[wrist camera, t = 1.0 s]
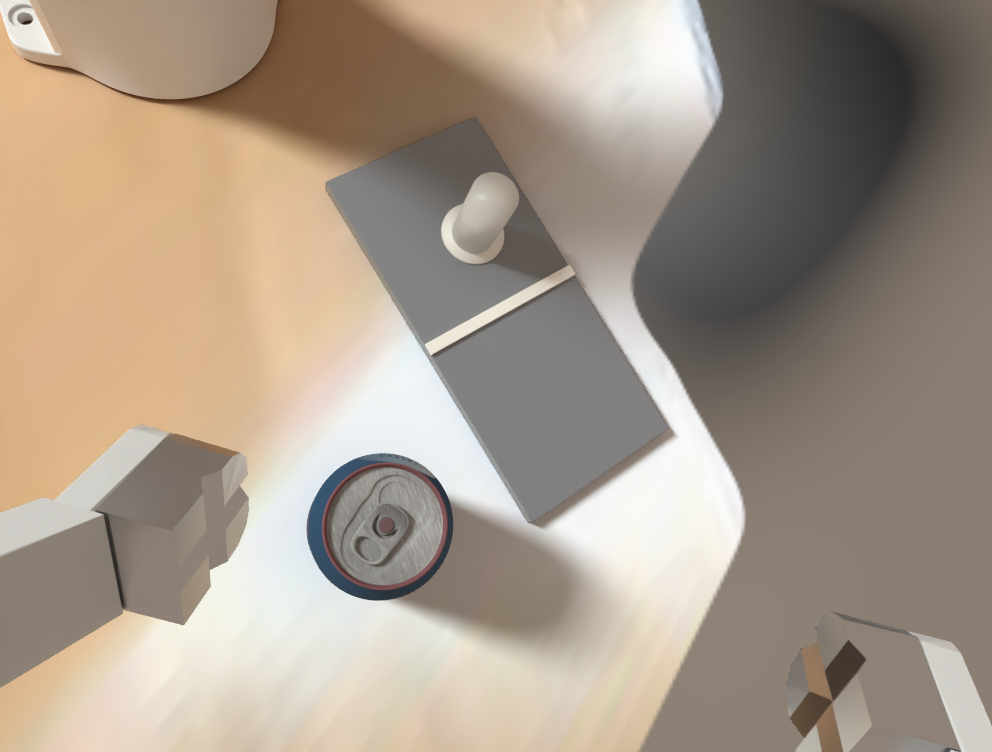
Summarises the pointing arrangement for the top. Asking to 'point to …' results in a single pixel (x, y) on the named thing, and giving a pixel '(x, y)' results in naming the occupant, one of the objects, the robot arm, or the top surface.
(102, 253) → the top surface
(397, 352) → the top surface
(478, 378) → the board
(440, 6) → the top surface
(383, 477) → the soda can
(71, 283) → the top surface
